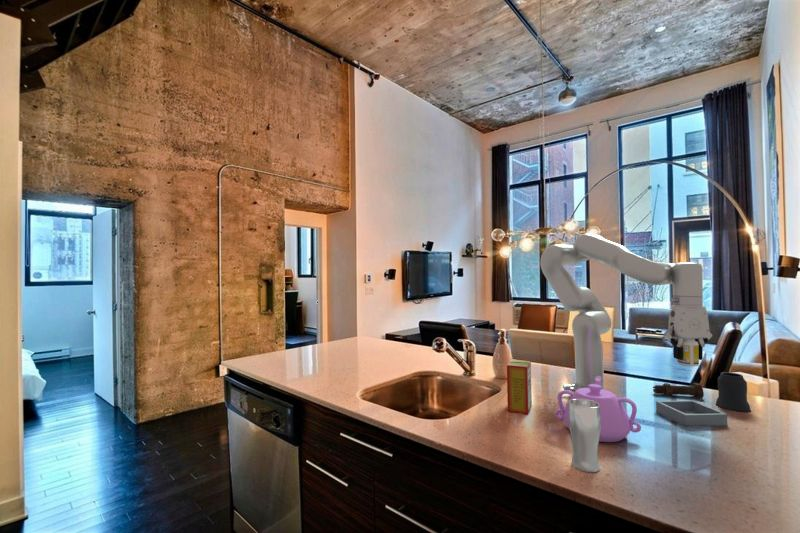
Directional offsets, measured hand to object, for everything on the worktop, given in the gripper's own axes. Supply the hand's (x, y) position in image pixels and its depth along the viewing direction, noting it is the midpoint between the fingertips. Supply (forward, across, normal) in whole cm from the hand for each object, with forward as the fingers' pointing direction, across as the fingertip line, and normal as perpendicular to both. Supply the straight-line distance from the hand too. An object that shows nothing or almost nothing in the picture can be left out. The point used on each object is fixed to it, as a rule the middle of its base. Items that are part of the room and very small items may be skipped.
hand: (687, 358), depth 119 cm
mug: (+19, +23, +10) cm, 32 cm away
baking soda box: (+20, -50, +11) cm, 55 cm away
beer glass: (+19, -47, -28) cm, 58 cm away
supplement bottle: (+2, 0, 0) cm, 2 cm away
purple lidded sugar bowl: (+19, -34, -7) cm, 39 cm away
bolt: (+20, +14, +22) cm, 32 cm away
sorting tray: (+19, 0, 0) cm, 19 cm away
